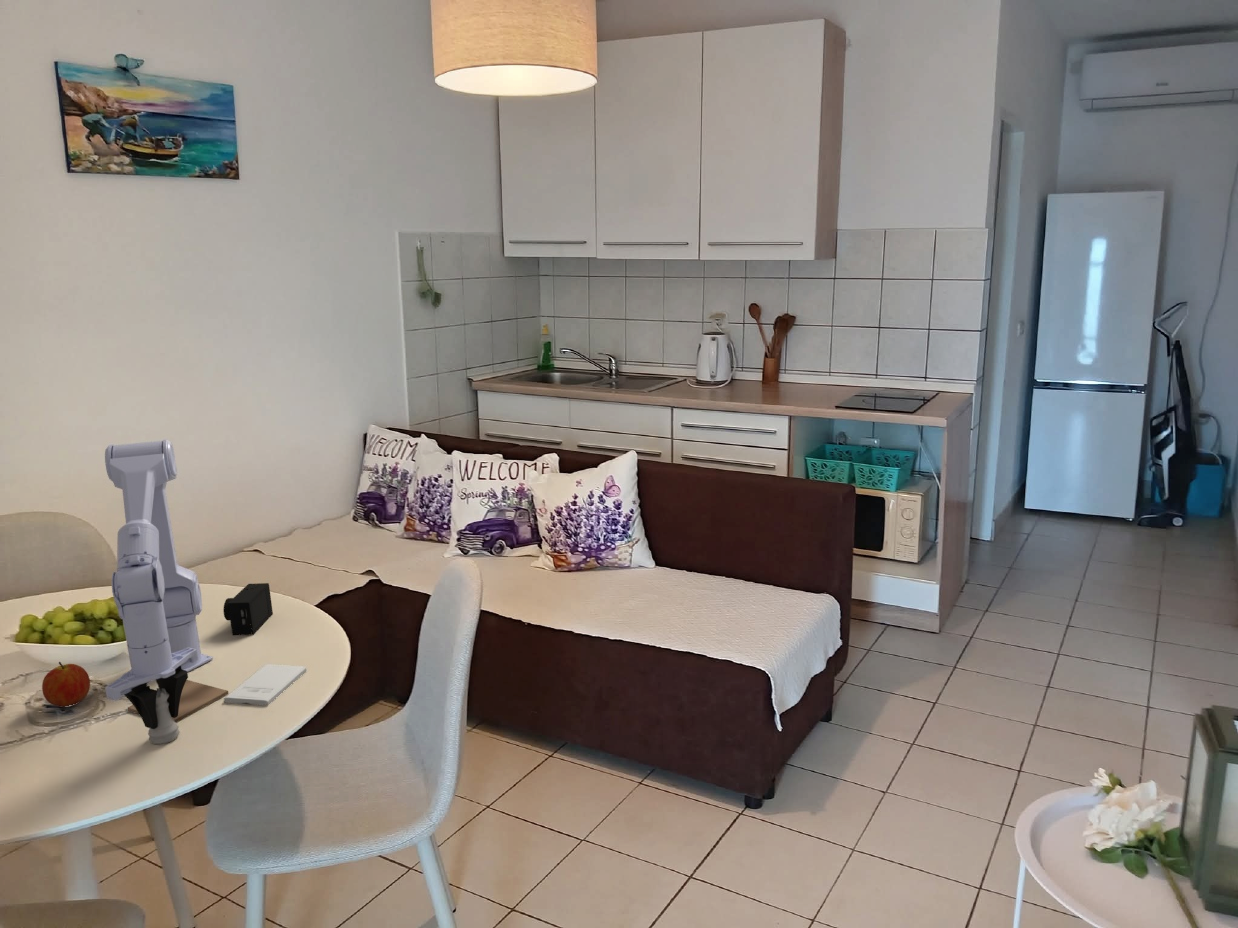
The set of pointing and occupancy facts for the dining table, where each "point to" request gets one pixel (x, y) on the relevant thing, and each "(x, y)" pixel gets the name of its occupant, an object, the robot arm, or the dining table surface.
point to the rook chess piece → (163, 721)
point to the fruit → (66, 685)
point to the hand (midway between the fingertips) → (161, 721)
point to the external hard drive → (265, 684)
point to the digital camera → (249, 609)
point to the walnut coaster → (194, 698)
